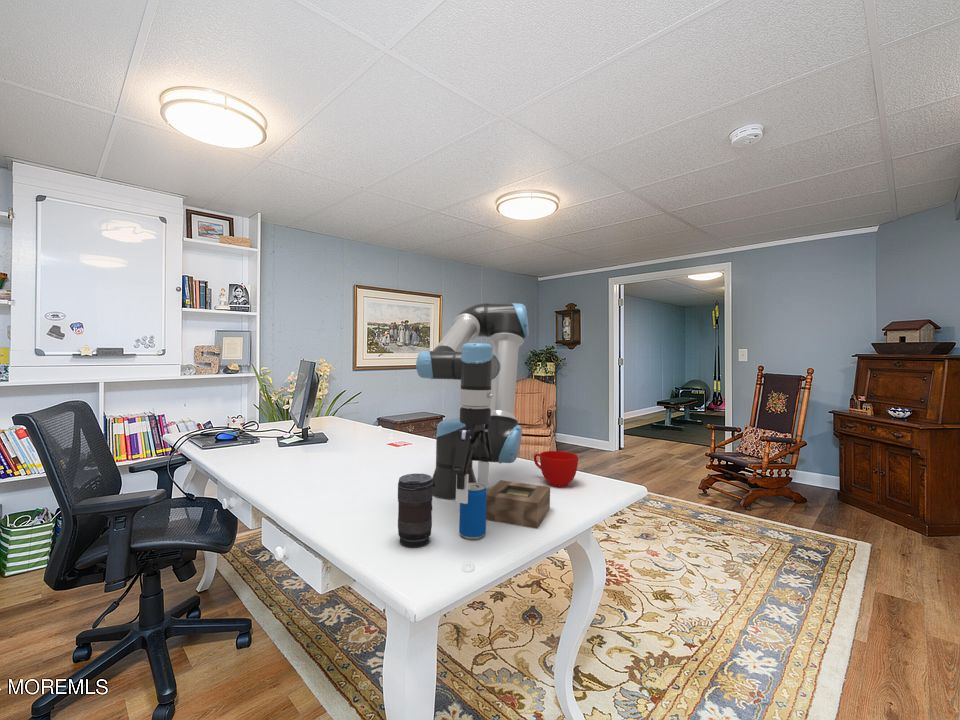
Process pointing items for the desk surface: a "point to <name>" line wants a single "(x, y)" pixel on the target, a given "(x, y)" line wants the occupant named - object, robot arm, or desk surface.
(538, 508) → the socket block
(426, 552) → the desk surface
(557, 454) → the ceramic cup
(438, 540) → the desk surface
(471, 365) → the robot arm
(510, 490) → the gold metal plaque
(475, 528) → the beverage can
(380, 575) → the desk surface
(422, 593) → the desk surface
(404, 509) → the camera lens
